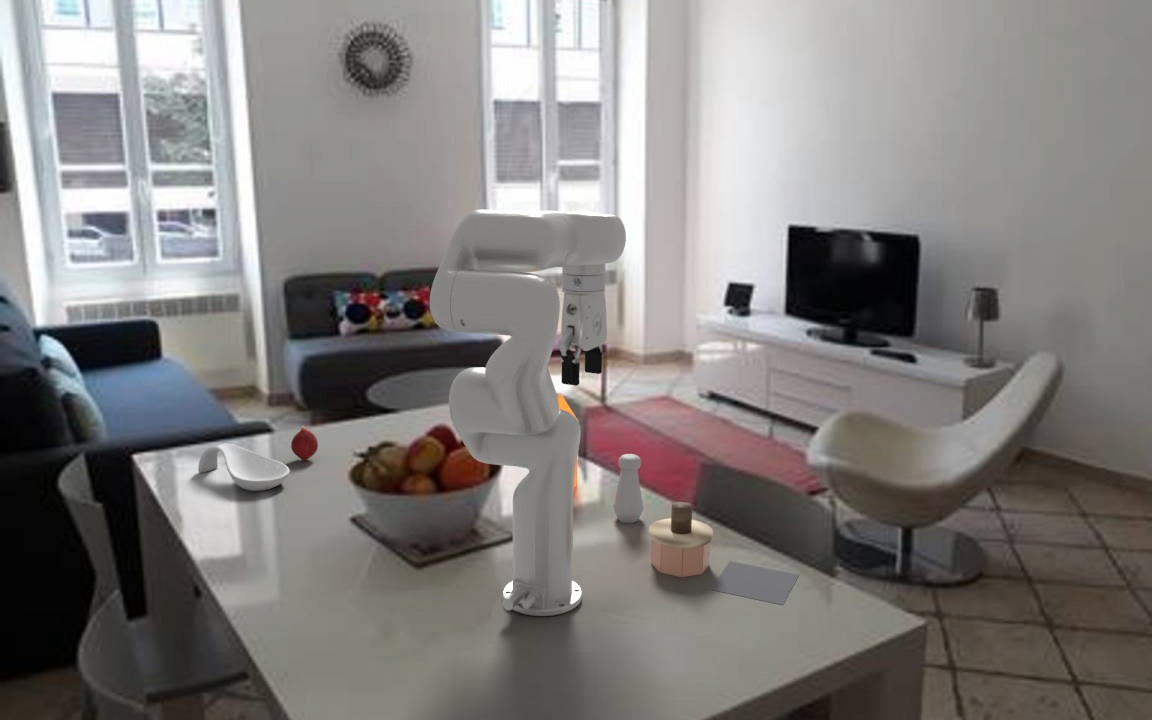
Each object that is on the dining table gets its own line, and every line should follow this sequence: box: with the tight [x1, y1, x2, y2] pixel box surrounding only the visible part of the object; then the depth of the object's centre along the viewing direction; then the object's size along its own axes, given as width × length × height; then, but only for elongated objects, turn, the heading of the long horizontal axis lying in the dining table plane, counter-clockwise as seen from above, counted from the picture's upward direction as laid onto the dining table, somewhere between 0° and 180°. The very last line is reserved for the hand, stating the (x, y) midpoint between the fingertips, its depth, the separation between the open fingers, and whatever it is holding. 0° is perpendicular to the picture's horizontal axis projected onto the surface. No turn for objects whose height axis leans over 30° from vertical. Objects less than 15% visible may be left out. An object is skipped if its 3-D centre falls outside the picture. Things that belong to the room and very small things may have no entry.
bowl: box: [650, 539, 711, 578], centre depth 162 cm, size 9×9×6 cm
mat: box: [709, 560, 800, 606], centre depth 156 cm, size 12×12×1 cm
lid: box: [648, 501, 714, 548], centre depth 161 cm, size 11×11×5 cm
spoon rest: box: [197, 442, 291, 492], centre depth 201 cm, size 24×12×7 cm, turn 58°
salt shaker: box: [613, 453, 645, 524], centre depth 182 cm, size 6×6×13 cm
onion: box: [290, 425, 319, 461], centre depth 214 cm, size 6×6×8 cm
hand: (582, 378), depth 168 cm, fingers open, 9 cm apart
